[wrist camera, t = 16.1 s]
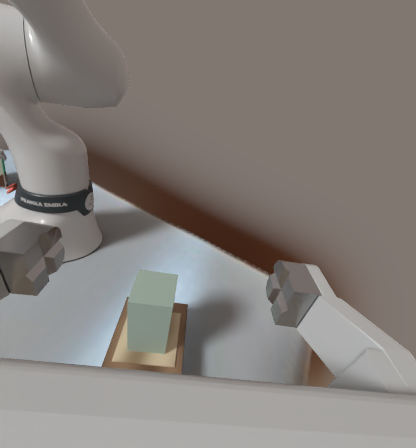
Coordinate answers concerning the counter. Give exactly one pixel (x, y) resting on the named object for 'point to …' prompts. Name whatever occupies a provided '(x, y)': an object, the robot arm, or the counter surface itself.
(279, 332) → the counter surface
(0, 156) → the food container
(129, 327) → the pillar block
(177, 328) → the build plinth
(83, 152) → the robot arm
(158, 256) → the counter surface
